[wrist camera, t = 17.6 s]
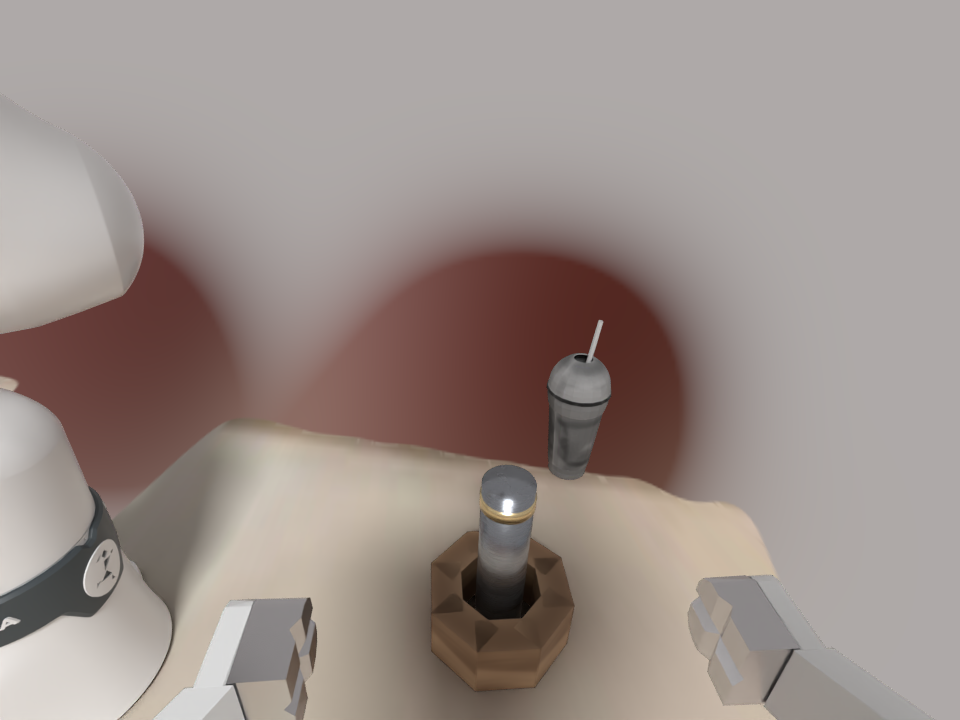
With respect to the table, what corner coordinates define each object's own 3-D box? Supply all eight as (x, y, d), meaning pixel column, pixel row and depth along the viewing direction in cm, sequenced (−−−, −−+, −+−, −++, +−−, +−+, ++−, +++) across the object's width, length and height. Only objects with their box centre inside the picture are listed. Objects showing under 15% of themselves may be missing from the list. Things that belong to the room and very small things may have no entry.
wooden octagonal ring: (431, 694, 39) (431, 655, 37) (431, 569, 49) (431, 532, 47) (576, 684, 40) (585, 646, 38) (547, 564, 50) (553, 528, 48)
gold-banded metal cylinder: (474, 646, 43) (483, 504, 35) (471, 601, 46) (478, 464, 39) (524, 643, 43) (543, 503, 35) (516, 599, 47) (532, 463, 39)
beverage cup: (536, 446, 67) (553, 304, 57) (592, 451, 66) (618, 309, 57) (537, 485, 60) (556, 332, 51) (599, 490, 60) (630, 337, 50)
